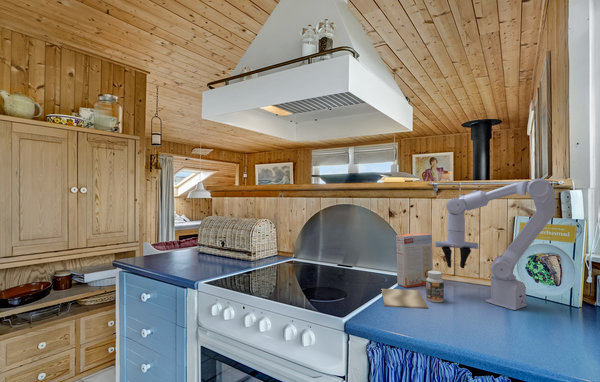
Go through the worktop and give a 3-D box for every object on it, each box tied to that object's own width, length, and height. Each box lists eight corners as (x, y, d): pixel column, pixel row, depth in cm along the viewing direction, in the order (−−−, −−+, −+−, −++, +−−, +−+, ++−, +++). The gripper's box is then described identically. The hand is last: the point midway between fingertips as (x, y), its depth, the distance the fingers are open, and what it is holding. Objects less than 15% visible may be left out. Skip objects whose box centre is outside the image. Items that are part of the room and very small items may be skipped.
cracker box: (423, 280, 137) (423, 232, 137) (433, 284, 131) (433, 234, 131) (396, 284, 132) (395, 234, 132) (405, 288, 127) (404, 235, 127)
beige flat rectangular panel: (418, 291, 122) (418, 290, 122) (428, 308, 104) (428, 307, 104) (381, 289, 125) (381, 288, 125) (384, 306, 107) (384, 304, 107)
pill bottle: (433, 303, 109) (433, 274, 109) (423, 298, 115) (422, 270, 115) (447, 302, 111) (447, 273, 111) (436, 296, 116) (436, 269, 116)
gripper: (473, 229, 120) (473, 265, 120) (432, 228, 122) (432, 263, 123) (480, 232, 113) (480, 270, 113) (437, 231, 115) (436, 268, 116)
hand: (455, 267), depth 117 cm, fingers open, 4 cm apart
